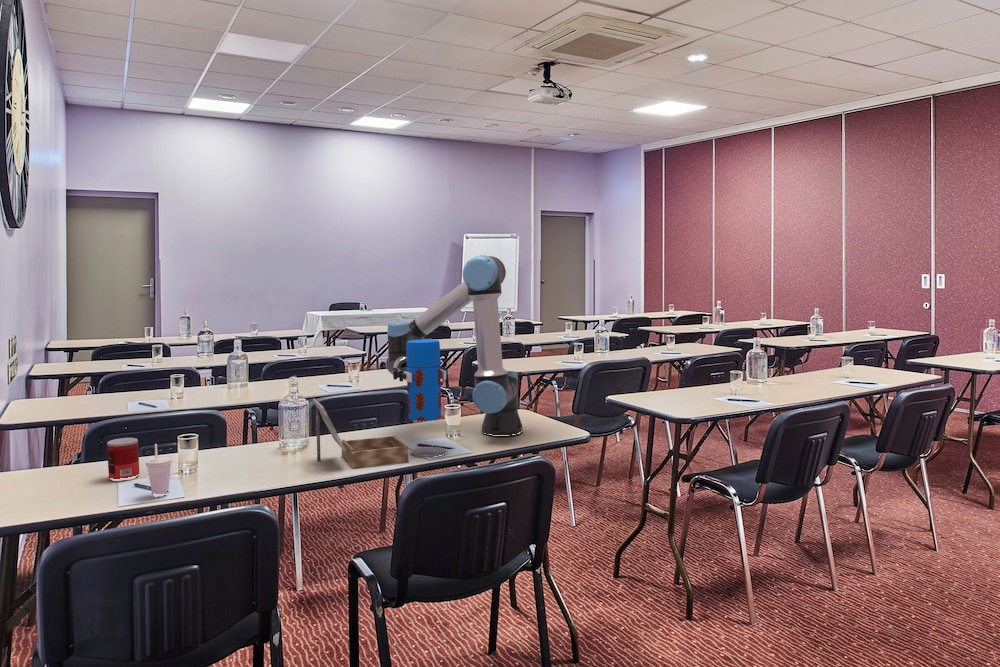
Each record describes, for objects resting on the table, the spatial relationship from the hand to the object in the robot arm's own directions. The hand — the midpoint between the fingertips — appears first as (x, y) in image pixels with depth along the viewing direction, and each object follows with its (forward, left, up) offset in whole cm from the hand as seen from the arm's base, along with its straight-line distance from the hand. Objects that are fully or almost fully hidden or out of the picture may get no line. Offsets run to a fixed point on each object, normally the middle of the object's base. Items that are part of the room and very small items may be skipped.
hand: (428, 376), depth 225 cm
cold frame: (+21, -4, -26) cm, 34 cm away
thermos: (0, -4, -14) cm, 15 cm away
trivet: (-1, -4, -26) cm, 26 cm away
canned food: (+88, -14, -26) cm, 93 cm away
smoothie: (+78, +8, -26) cm, 82 cm away
